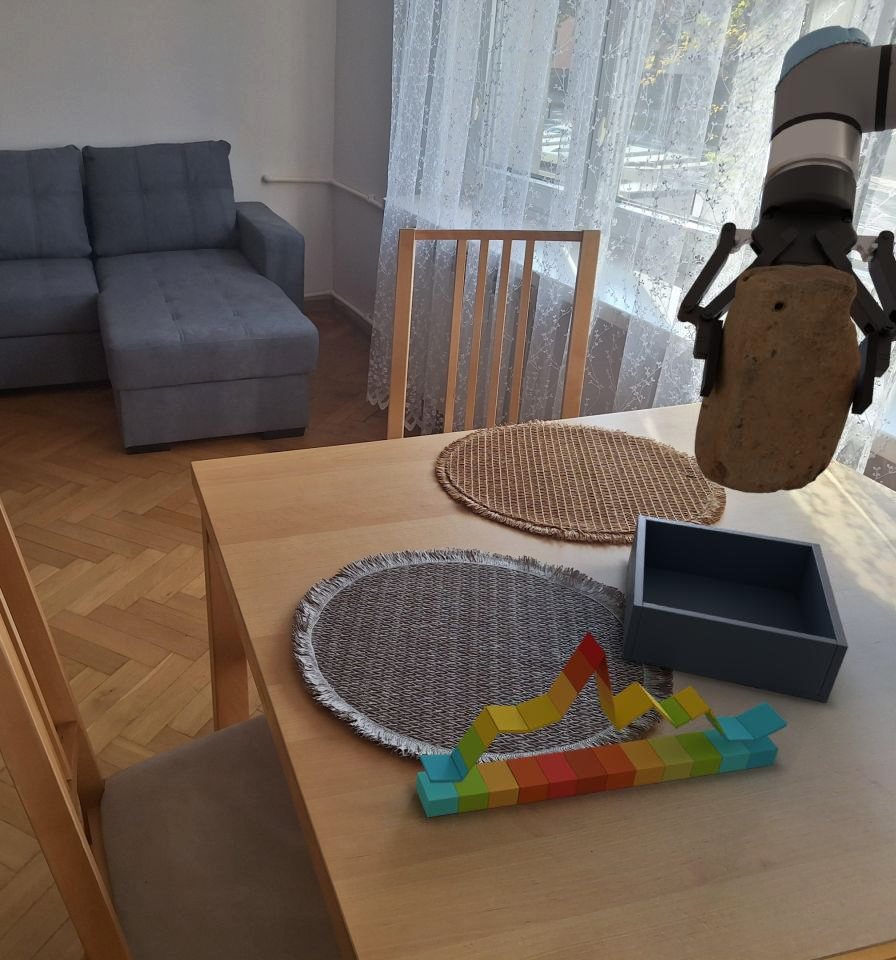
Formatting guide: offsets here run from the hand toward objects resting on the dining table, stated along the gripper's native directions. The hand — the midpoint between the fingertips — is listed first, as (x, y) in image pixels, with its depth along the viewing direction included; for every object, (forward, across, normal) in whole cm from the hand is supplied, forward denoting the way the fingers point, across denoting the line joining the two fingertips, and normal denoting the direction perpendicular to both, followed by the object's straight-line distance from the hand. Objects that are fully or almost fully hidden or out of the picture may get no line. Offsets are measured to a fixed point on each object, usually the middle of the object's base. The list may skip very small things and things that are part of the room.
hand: (781, 399), depth 76 cm
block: (+5, 0, -9) cm, 10 cm away
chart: (+36, +10, -1) cm, 37 cm away
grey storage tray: (+18, 0, -19) cm, 26 cm away
